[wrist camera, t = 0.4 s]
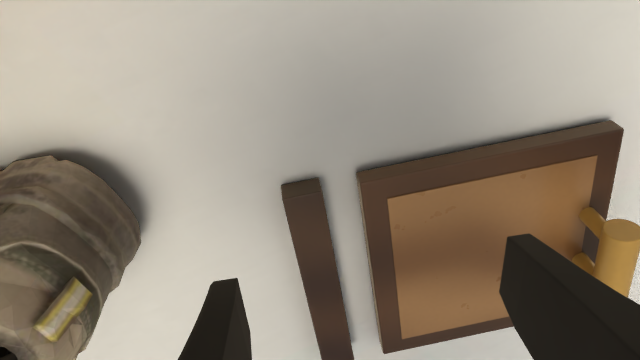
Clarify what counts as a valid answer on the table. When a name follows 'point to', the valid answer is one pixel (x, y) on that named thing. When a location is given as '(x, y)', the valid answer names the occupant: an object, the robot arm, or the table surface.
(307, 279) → the frame stand
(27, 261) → the hiking shoe
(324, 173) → the table surface
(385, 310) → the picture frame
